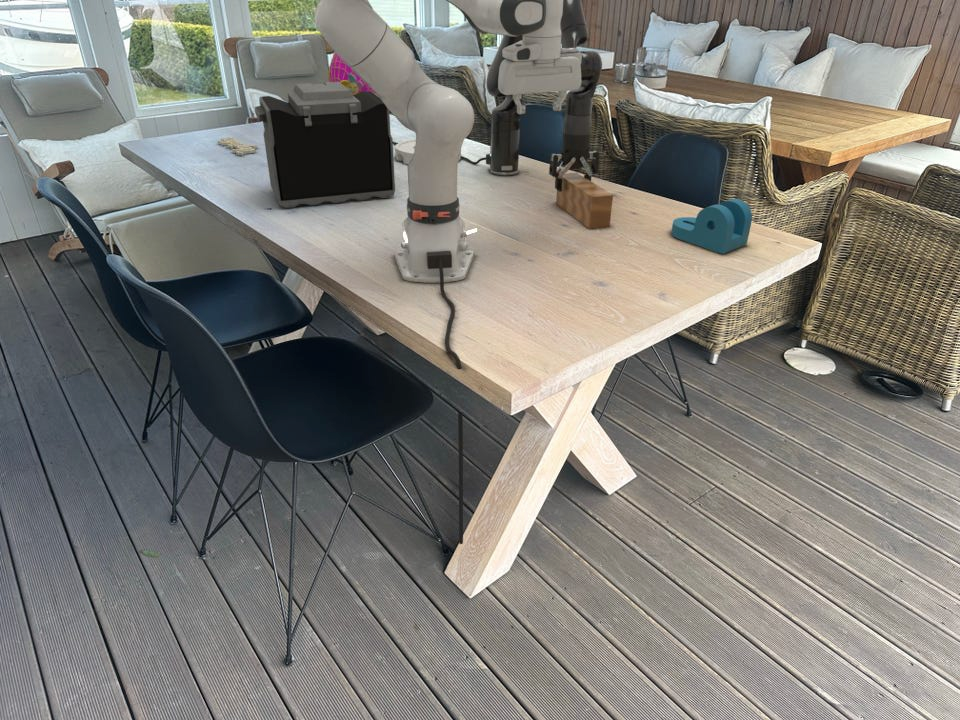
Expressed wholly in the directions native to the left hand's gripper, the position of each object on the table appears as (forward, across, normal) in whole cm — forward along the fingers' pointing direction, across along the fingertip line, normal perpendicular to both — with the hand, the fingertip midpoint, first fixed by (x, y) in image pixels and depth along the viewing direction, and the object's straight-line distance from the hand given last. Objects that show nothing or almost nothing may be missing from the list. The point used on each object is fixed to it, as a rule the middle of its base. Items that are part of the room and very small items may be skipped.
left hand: (539, 112), depth 165 cm
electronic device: (+29, +45, -49) cm, 73 cm away
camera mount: (+31, -39, +20) cm, 53 cm away
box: (+30, -18, -8) cm, 36 cm away
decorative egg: (+30, +18, -147) cm, 151 cm away
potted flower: (+30, +24, -110) cm, 117 cm away
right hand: (+25, -18, -15) cm, 35 cm away
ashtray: (+30, +5, -81) cm, 86 cm away
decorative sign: (+29, +68, -117) cm, 138 cm away
